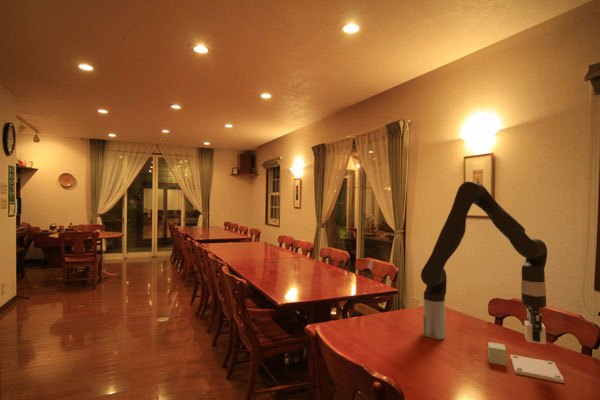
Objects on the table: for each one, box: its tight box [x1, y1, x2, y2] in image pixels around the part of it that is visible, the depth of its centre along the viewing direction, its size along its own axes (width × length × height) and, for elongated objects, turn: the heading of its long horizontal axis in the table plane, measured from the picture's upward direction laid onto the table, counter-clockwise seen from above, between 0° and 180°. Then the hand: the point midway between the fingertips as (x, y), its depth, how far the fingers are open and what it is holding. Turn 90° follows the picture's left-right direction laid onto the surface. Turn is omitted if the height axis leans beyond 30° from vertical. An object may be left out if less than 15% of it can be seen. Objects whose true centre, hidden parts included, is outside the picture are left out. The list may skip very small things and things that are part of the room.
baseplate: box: [509, 354, 565, 384], centre depth 119 cm, size 14×14×2 cm
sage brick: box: [487, 341, 507, 367], centre depth 125 cm, size 6×6×6 cm
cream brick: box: [523, 320, 547, 345], centre depth 119 cm, size 6×6×6 cm
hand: (534, 338), depth 119 cm, fingers closed on cream brick, 5 cm apart
